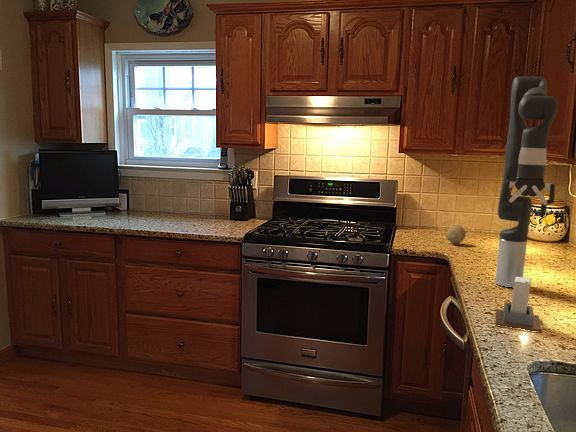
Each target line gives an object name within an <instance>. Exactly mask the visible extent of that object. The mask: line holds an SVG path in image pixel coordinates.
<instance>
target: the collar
mask: <svg viewBox="0 0 576 432" xmlns="http://www.w3.org/2000/svg"><path fill="white" fill-rule="evenodd" d="M511 304H512V302H504V305H503V309H495V318H496V320H495V324H494V325H500V326H507V327H512V328H521V329H525V330H530V331H539V332H541V333H542V332H543V331H542V325H541V320H540V316H539V315H538V314H534V310H533V306H532V305H528V306H527V313H526V314H520V313H513V312H510V311H511ZM530 331H529V332H530Z"/></svg>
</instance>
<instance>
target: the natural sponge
mask: <svg viewBox="0 0 576 432" xmlns="http://www.w3.org/2000/svg"><path fill="white" fill-rule="evenodd" d="M465 238H466V230H465V228H464V227H463V226H461V225H459V224H456V225H452V226H451V227H450V228H449V229H448V231H447V233H446V239H447V240H448V241H449V242H450V243H452V244H453V245H459V244H461V242H463V241H464V240H465Z"/></svg>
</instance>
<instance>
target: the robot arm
mask: <svg viewBox="0 0 576 432" xmlns="http://www.w3.org/2000/svg"><path fill="white" fill-rule="evenodd" d="M547 94H548V83H547V80H546V78H545V77H543V76H535V75H534V76H525V75H523V76H521V75H519V76H516V77H515V78H513V80H512V85H511V95H510V111H509V112H510V114H509V124H508V130H507V131H508V133H507V139H506V145H505V146H506V147H505V154H504V168H503V175H502V176H503V177H502V183H501V188H500V195H499V199H498V205H497V216H498V218H499V219H500V220H503V221H511V222H518V224H517V225H516V226H514V227H512V228H511V227H510V228H506V229H503V230H500V231H499V239H498V250H497V261H496V262H497V263H496V271H495V280H494V284H495V283H496V284H498V285H497V286H499V285H501V286H500V287H502V286H505V287H504V288H506V287H514V284H515V279H516V277H524V271H525V262H526V254H527V242H528V235H529V228H530V222H531V221H530V220H531V216H532V215H531V214H532V210H533V209H532V208H533V203H532V202H533V201H532V199H531V198H530V197H536V196H537V197H538V199H539V200H540V202H541V204H540V211H539V212H540V214H539V217H540V218H543V217H544V216H546V213H547V206H548V205H550V204H554V203H555V192H556V191H555V189H556V185H555V183H554V182H551V183H545V181H544V180H545V172H546V164H547V146H548V137H549V132H550V128H551V126H552V123H553V122H554V119H555V116H556V114H557V111H558V108H559V102H558V100H557V98H556V97H555V96H550V95H547ZM527 120H528V121H532V120H533V121H542V122H541V123H540V125H538V126H534V127H528V125H527V122H526V121H527ZM514 186H515V188H516V191H515V192H514V193H513V194H512V191H513V188H514ZM544 188H546V189H547V191H549V193H548V199H545V197H544V196H543V194H542V190H544ZM496 284H495V285H496Z"/></svg>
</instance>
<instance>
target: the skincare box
mask: <svg viewBox="0 0 576 432" xmlns="http://www.w3.org/2000/svg"><path fill="white" fill-rule="evenodd" d="M531 280H532V278H530V277H524V276H523V277H516V279H515V284H514V288H513V292H512V298H511V303H512V304H511V311H510V312H513V313H520V314H526V313H527V306H529V297H530V292H531V291H530V289H531Z"/></svg>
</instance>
